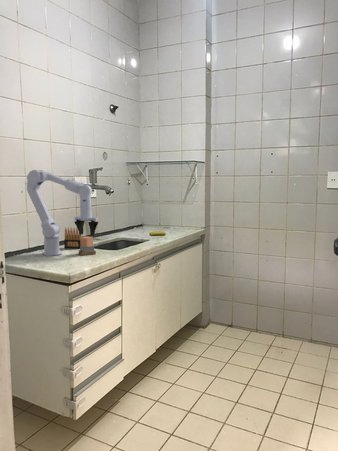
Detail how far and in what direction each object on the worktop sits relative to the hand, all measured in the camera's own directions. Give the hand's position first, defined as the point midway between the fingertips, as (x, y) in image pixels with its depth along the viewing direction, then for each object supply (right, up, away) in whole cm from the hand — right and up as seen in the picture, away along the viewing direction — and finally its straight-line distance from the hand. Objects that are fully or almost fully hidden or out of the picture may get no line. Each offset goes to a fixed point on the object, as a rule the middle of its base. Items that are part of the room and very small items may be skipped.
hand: (86, 234), depth 195 cm
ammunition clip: (-11, -8, +18) cm, 23 cm away
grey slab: (0, -8, +2) cm, 8 cm away
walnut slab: (0, -11, +2) cm, 11 cm away
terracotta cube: (0, -6, +1) cm, 6 cm away
